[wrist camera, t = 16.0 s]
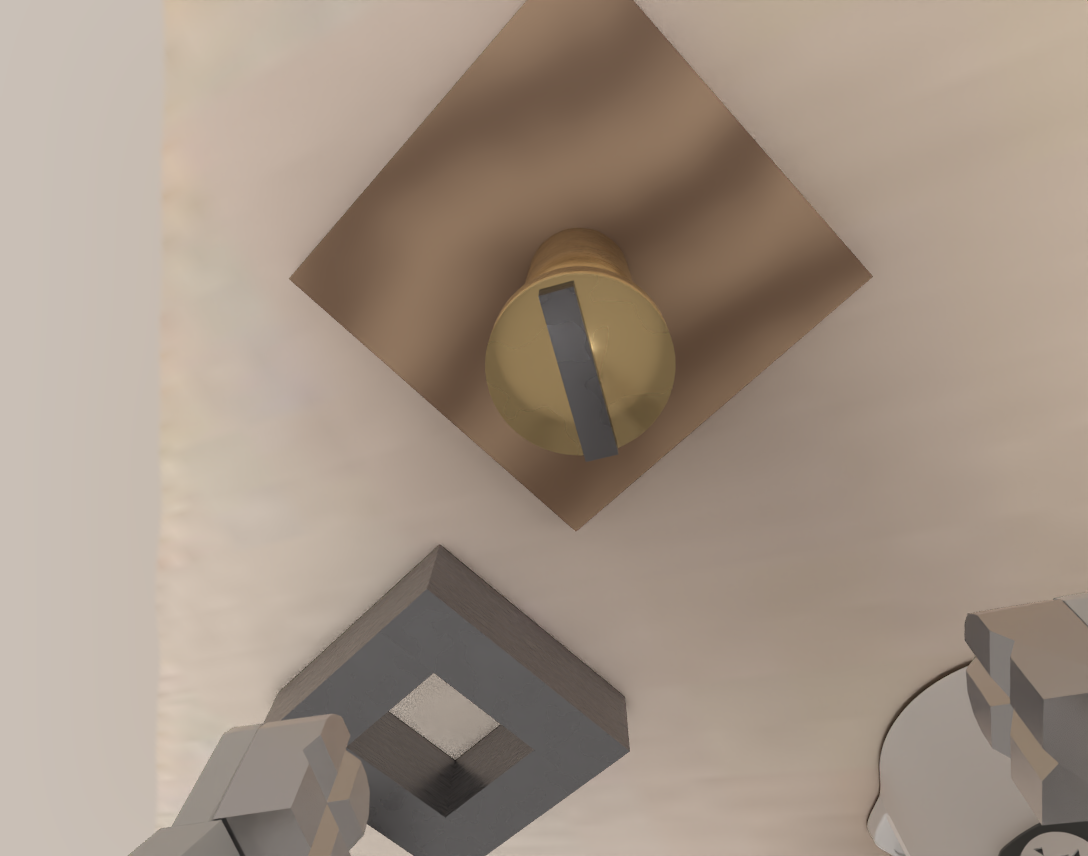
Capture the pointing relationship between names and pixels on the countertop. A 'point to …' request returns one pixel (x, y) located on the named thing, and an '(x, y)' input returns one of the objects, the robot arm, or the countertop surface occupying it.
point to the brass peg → (580, 350)
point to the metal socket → (486, 680)
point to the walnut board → (579, 202)
